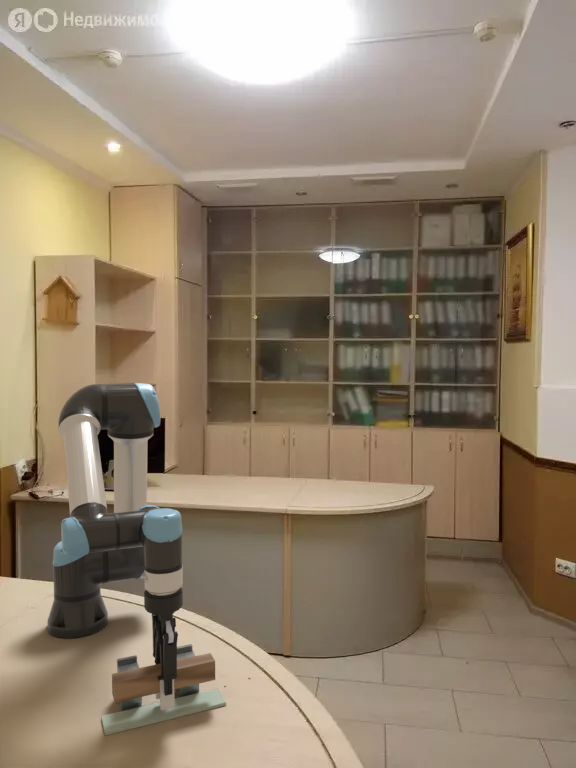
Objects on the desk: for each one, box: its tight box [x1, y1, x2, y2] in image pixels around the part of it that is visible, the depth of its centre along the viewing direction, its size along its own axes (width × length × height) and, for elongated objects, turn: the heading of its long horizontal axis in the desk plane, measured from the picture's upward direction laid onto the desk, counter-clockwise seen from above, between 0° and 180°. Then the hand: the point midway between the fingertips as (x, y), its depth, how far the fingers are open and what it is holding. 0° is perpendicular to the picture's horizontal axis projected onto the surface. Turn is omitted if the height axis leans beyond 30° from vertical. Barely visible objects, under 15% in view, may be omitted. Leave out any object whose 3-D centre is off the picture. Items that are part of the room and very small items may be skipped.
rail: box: [111, 652, 216, 704], centre depth 120 cm, size 4×20×4 cm, turn 114°
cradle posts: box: [116, 643, 200, 712], centre depth 126 cm, size 6×16×8 cm, turn 114°
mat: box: [101, 688, 227, 736], centre depth 120 cm, size 6×24×1 cm, turn 114°
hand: (165, 702), depth 120 cm, fingers closed on rail, 3 cm apart
